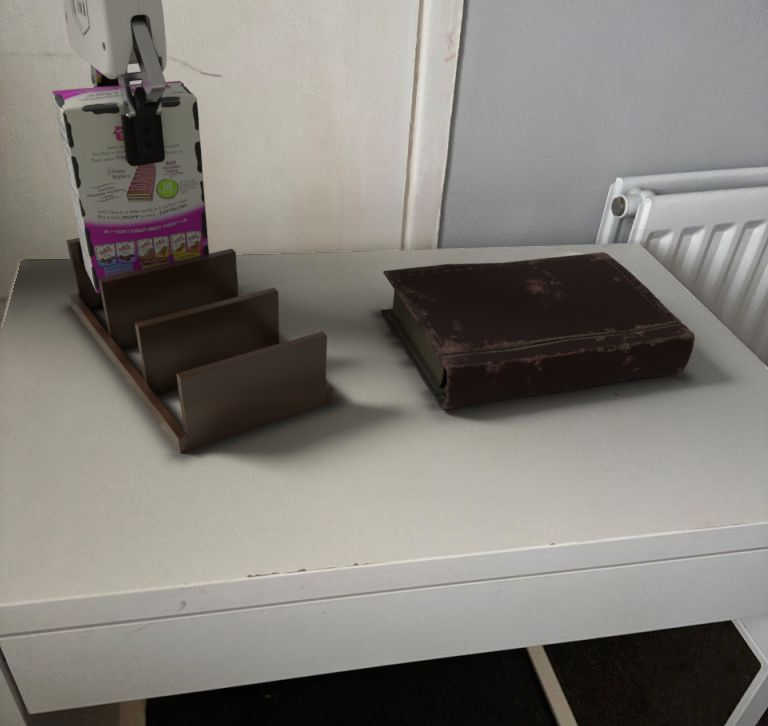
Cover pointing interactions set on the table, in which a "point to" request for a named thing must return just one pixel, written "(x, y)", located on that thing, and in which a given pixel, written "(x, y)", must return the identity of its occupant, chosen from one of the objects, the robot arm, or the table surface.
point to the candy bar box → (132, 182)
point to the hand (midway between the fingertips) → (132, 147)
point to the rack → (203, 346)
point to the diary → (531, 327)
